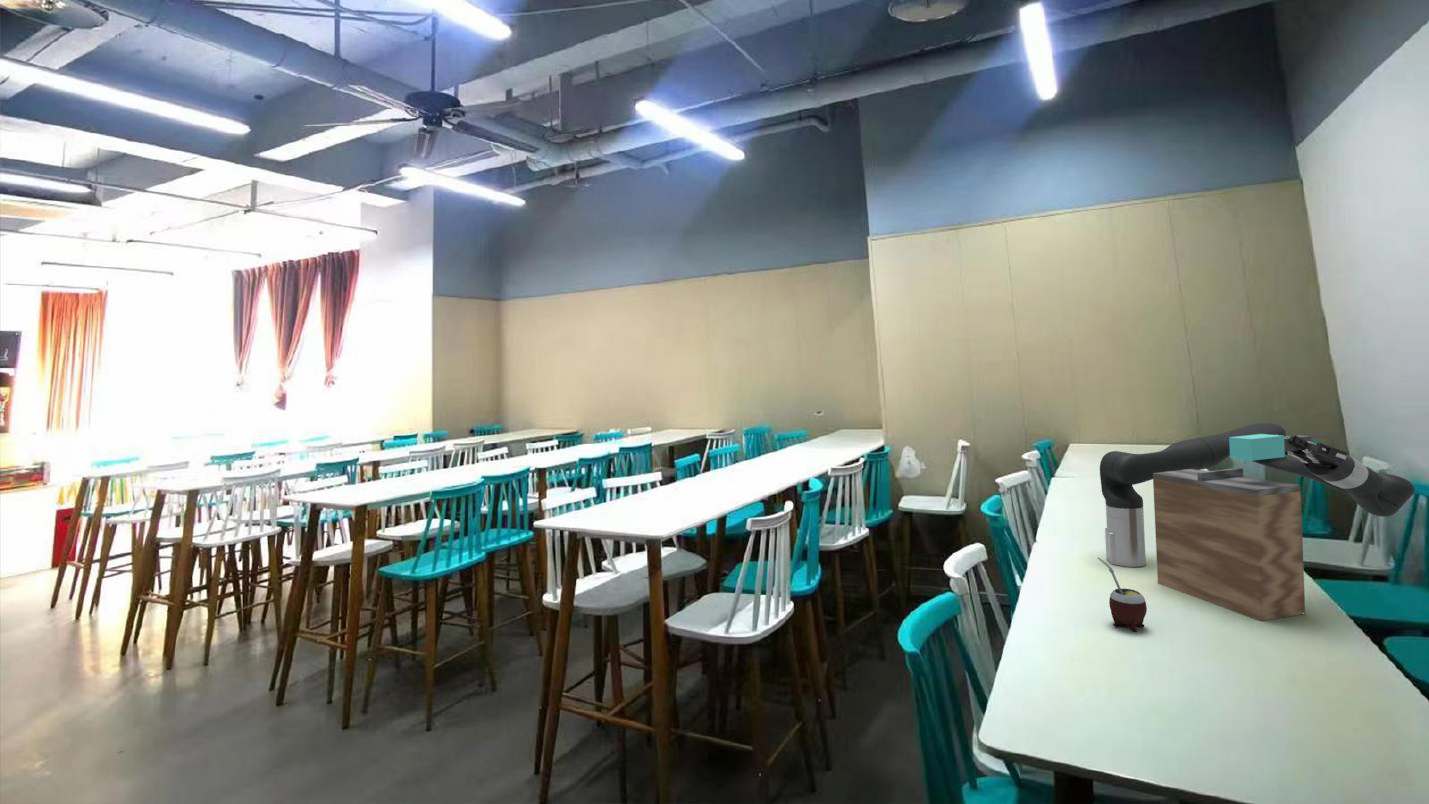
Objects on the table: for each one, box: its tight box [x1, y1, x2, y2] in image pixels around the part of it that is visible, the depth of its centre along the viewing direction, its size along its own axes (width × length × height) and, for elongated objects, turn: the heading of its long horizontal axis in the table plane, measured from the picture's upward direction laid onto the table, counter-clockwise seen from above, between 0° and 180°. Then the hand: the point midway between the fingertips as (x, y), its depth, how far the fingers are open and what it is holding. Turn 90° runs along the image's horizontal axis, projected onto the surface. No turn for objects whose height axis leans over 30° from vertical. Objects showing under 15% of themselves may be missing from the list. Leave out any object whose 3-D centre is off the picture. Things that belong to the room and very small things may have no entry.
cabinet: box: [1152, 467, 1306, 622], centre depth 146 cm, size 13×26×32 cm, turn 8°
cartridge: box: [1229, 434, 1313, 462], centre depth 139 cm, size 18×5×5 cm, turn 98°
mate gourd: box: [1097, 557, 1148, 633], centre depth 135 cm, size 8×8×15 cm
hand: (1283, 438), depth 140 cm, fingers closed on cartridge, 3 cm apart
